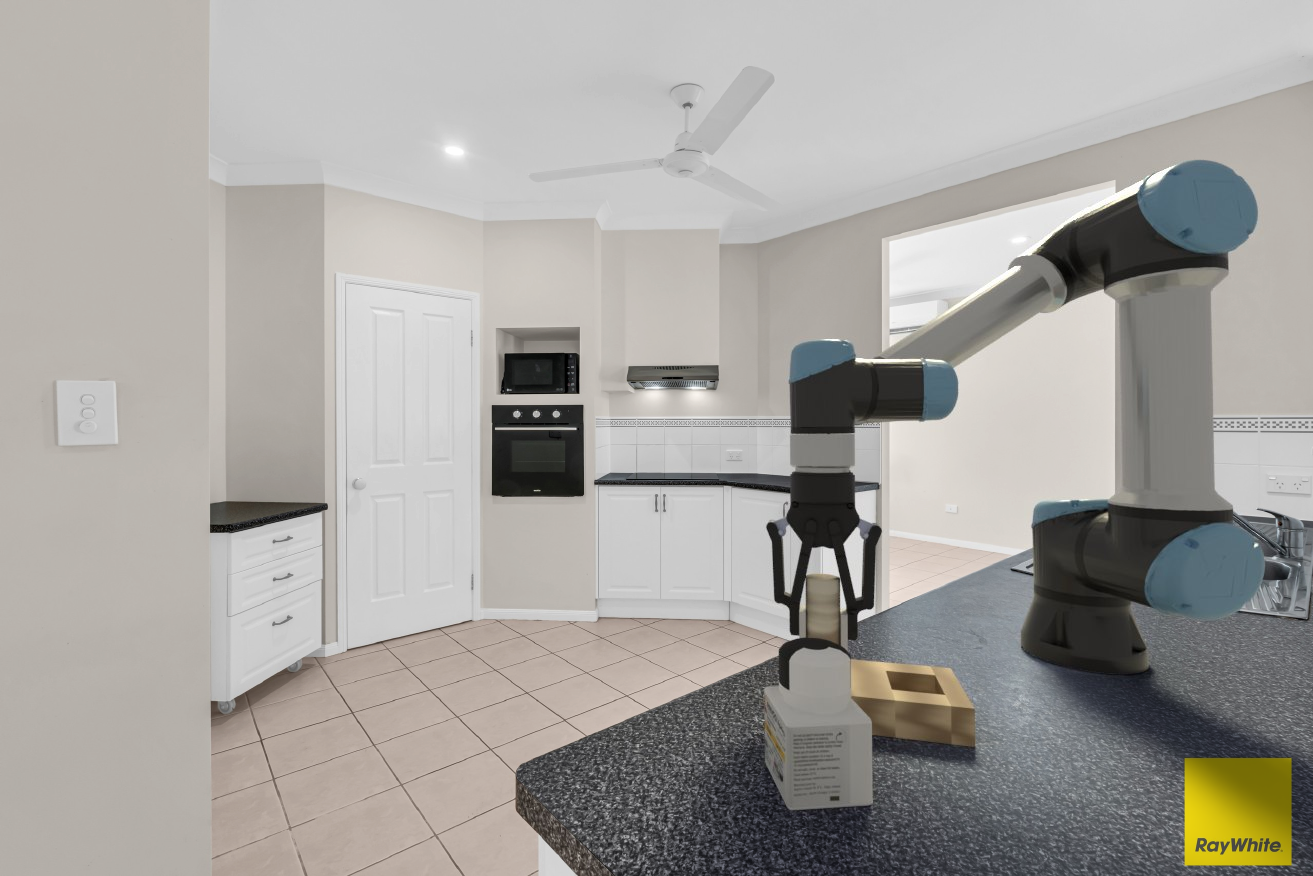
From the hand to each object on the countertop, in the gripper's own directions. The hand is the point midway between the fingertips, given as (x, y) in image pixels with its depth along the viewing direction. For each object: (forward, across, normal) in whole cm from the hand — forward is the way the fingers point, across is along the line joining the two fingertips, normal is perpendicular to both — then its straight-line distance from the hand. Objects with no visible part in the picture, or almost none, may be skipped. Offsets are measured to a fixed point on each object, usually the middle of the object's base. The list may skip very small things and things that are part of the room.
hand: (823, 663), depth 69 cm
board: (+5, -5, 0) cm, 7 cm away
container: (+6, +1, +16) cm, 17 cm away
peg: (+2, 0, 0) cm, 2 cm away
